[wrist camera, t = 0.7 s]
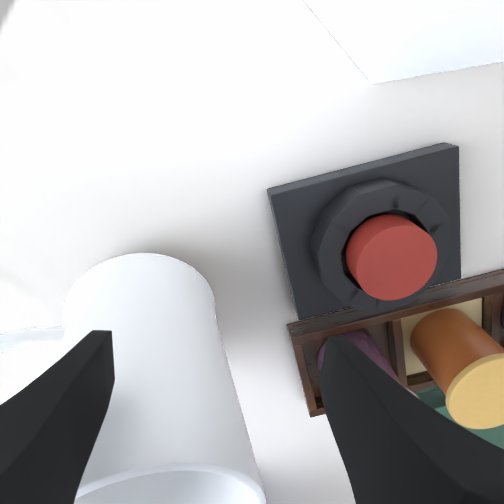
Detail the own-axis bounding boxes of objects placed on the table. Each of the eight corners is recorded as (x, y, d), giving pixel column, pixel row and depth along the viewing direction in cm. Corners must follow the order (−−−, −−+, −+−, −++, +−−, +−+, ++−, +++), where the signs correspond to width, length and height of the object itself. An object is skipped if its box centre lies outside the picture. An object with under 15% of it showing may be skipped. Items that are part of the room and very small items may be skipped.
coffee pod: (477, 354, 26) (537, 416, 21) (406, 372, 26) (450, 438, 22) (477, 294, 24) (544, 347, 19) (400, 313, 24) (447, 371, 19)
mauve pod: (387, 375, 27) (425, 441, 22) (317, 392, 27) (340, 462, 22) (379, 317, 25) (421, 375, 20) (304, 336, 25) (326, 399, 20)
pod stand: (571, 334, 27) (590, 347, 26) (305, 401, 28) (310, 418, 26) (583, 248, 24) (605, 258, 23) (286, 324, 25) (290, 338, 23)
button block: (444, 141, 21) (482, 151, 18) (448, 268, 24) (480, 294, 21) (266, 188, 21) (274, 205, 18) (294, 308, 24) (305, 339, 21)
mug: (-27, 332, 20) (-185, 627, 10) (33, 198, 18) (-99, 415, 8) (173, 381, 26) (198, 604, 16) (240, 283, 23) (320, 475, 13)
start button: (417, 204, 19) (436, 216, 18) (422, 273, 21) (439, 289, 19) (340, 225, 19) (351, 238, 18) (350, 292, 21) (361, 309, 19)
